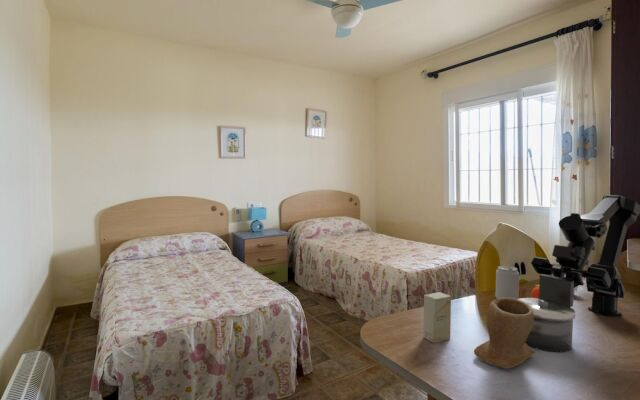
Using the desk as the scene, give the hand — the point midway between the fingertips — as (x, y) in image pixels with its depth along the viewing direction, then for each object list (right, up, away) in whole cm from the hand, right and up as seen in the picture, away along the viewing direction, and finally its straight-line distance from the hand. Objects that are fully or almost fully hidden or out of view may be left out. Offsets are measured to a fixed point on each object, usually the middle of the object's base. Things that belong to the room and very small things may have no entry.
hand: (557, 295), depth 99 cm
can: (+1, -10, +29) cm, 31 cm away
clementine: (+10, -10, +24) cm, 28 cm away
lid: (-6, -3, -4) cm, 8 cm away
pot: (-8, -11, 0) cm, 14 cm away
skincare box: (-35, -12, -1) cm, 36 cm away
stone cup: (-21, -12, -13) cm, 28 cm away
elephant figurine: (+27, -9, +36) cm, 46 cm away
